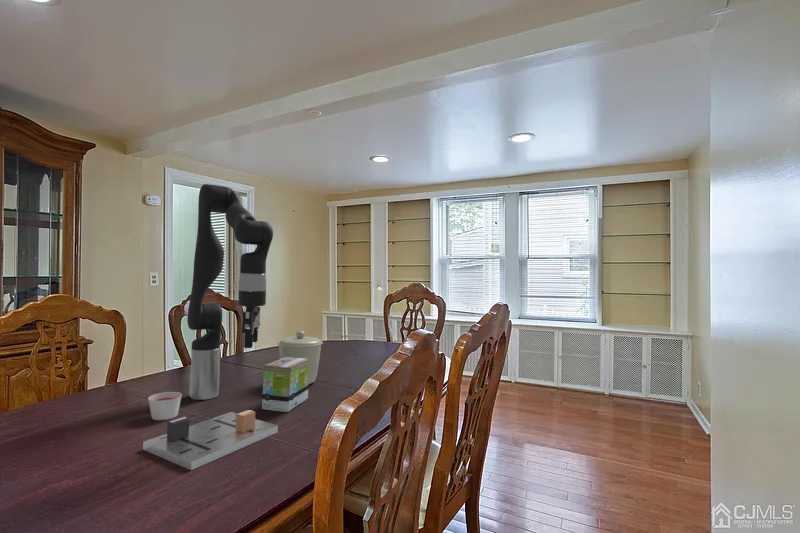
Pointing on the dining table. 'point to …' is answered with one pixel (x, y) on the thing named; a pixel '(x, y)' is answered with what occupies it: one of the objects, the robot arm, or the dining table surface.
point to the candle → (164, 405)
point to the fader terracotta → (245, 421)
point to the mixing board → (208, 441)
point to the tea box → (285, 383)
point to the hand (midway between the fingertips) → (250, 344)
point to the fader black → (177, 428)
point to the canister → (302, 351)
